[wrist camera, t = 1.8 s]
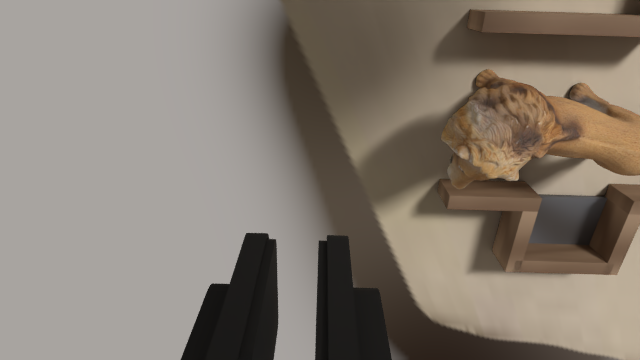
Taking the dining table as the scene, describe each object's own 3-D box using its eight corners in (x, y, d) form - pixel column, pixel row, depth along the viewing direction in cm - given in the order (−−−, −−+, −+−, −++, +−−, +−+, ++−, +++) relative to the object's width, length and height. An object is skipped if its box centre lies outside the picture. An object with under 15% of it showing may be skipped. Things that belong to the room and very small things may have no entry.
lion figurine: (411, 143, 27) (449, 211, 19) (423, 63, 25) (471, 101, 16) (627, 151, 27) (757, 221, 19) (659, 71, 25) (822, 112, 16)
